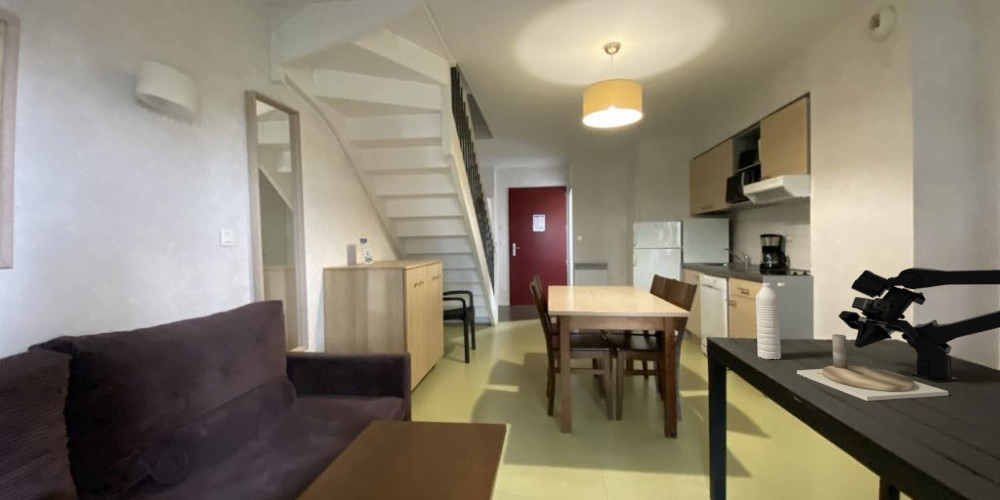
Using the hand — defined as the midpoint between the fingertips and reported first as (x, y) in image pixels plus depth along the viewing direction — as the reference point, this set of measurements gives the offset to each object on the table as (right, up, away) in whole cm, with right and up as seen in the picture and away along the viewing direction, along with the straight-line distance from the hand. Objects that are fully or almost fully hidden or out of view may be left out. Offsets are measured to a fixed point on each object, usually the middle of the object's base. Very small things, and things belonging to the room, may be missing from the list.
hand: (856, 346), depth 115 cm
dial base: (-4, -8, -7) cm, 11 cm away
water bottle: (-10, -9, +20) cm, 24 cm away
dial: (-4, -7, -7) cm, 10 cm away
